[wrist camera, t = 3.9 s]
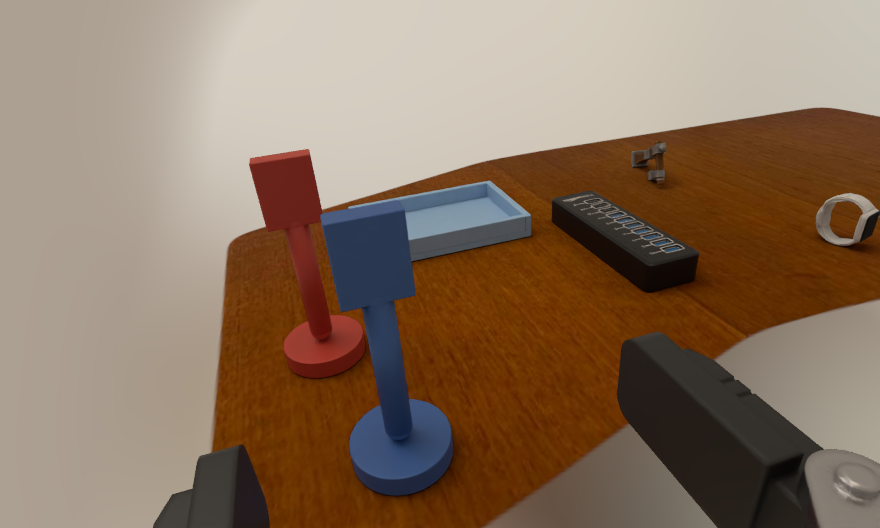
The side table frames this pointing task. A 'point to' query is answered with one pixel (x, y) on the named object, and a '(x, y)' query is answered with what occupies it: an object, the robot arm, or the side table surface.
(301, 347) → the red sign on stand
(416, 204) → the tray
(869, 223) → the smartwatch
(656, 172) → the wooden post with brackets
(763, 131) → the side table surface
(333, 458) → the side table surface
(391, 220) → the blue sign on stand
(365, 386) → the side table surface
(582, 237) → the multiport hub
